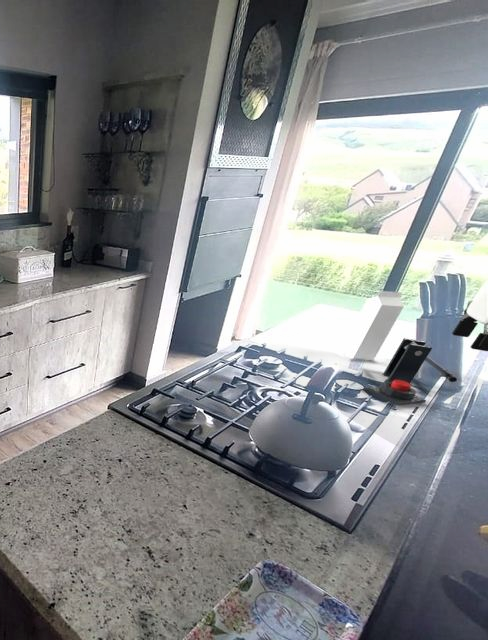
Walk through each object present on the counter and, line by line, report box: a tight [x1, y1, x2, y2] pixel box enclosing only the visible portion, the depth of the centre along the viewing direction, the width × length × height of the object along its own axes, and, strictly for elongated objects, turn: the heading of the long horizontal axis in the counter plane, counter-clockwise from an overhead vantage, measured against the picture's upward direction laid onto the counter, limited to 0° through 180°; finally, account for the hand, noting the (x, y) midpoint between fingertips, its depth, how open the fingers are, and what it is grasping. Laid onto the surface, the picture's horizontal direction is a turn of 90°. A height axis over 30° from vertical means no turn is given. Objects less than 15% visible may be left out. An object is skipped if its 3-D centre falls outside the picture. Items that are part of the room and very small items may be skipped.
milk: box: [340, 290, 405, 361], centre depth 122 cm, size 6×6×22 cm
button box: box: [365, 380, 427, 411], centre depth 105 cm, size 9×8×4 cm
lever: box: [404, 342, 458, 383], centre depth 108 cm, size 13×5×2 cm
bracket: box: [382, 337, 433, 384], centre depth 111 cm, size 11×9×13 cm
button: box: [391, 380, 412, 392], centre depth 104 cm, size 3×3×2 cm
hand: (469, 342), depth 102 cm, fingers open, 9 cm apart
